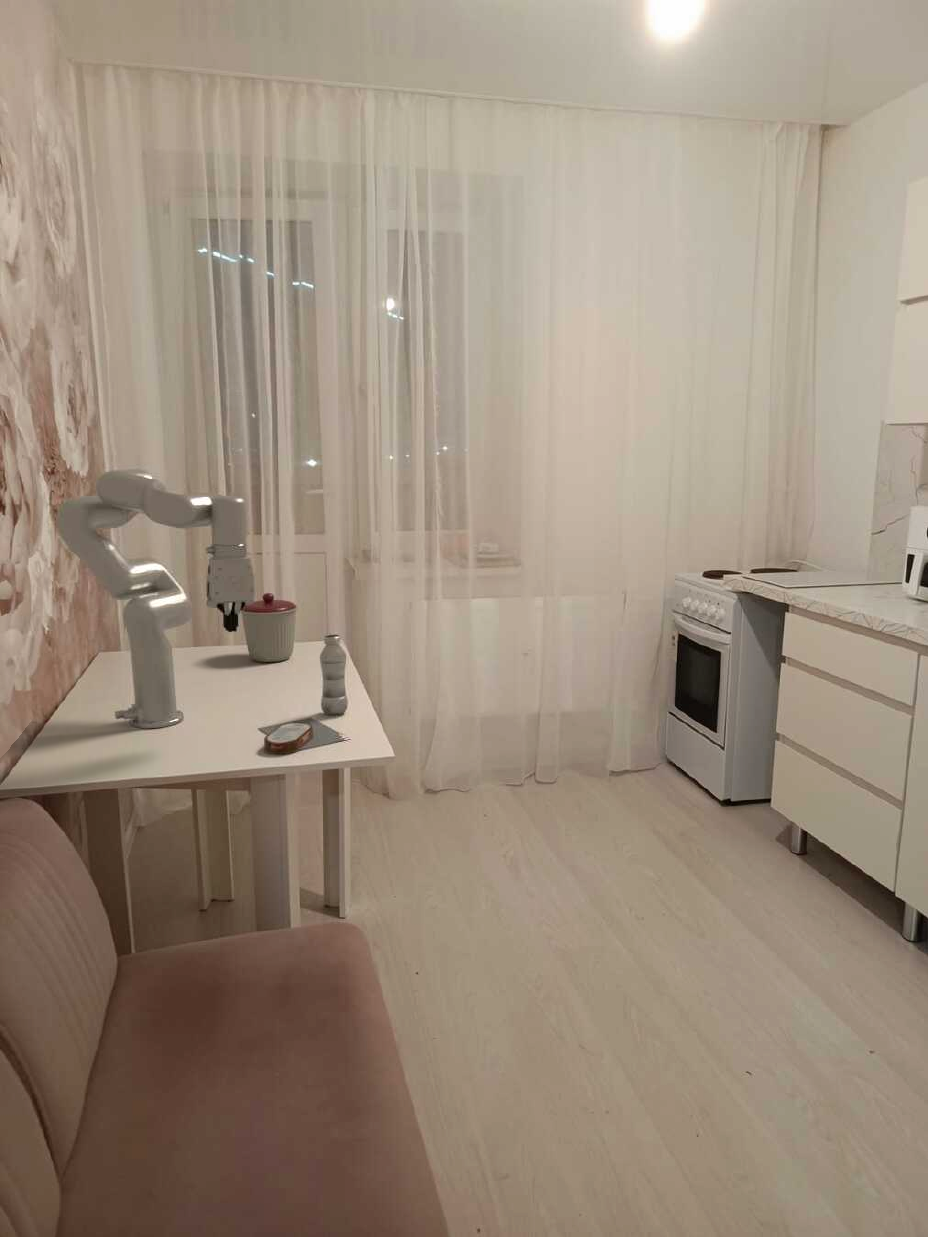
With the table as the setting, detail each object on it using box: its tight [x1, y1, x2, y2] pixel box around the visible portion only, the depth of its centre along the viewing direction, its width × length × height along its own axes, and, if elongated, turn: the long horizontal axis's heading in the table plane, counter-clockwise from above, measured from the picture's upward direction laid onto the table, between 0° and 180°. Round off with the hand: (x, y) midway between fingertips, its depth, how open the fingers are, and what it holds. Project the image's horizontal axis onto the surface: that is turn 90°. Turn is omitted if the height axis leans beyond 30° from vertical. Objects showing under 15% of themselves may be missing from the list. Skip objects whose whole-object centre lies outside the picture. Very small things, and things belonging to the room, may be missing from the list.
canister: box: [240, 592, 299, 663], centre depth 280 cm, size 18×18×21 cm
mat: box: [257, 717, 348, 753], centre depth 209 cm, size 14×20×1 cm
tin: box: [263, 722, 313, 755], centre depth 202 cm, size 15×3×8 cm
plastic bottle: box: [319, 634, 349, 715], centre depth 223 cm, size 6×7×20 cm
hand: (230, 630), depth 205 cm, fingers closed
